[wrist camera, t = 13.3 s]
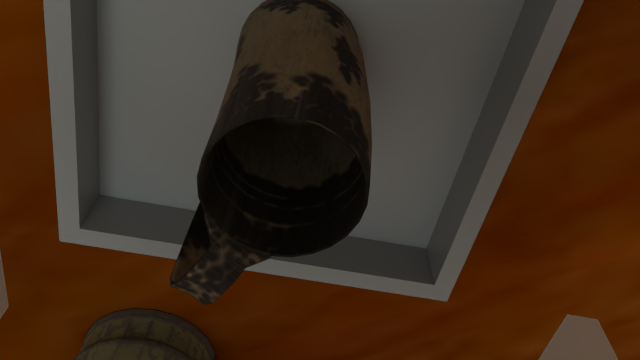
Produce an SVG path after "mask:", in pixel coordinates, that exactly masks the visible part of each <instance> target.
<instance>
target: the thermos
mask: <svg viewBox="0 0 640 360" xmlns="http://www.w3.org/2000/svg"><path fill="white" fill-rule="evenodd" d="M73 360H214V350H213V348H212V346H211V344H210V342H209V340H208V338H207V337H206V336H205V335H204V334H203V333H202V332H200V331H199V330H198V329H197V328H196V327H195V326H194V325H192V324H190V323H189V322H187V321H185V320H183V319H181V318H179V317H178V316H175V315H172V314H168V313H164V312H161V311H157V310H148V309H128V310H123V311H117V312H113V313H111V314H109V315H107V316H105V317H103V318H101V319H98V320H97V321H96V323H95V324H94V325H93V326H92V327H91V328H90V329H89V330H88V332H87V334H86V336H85V338H84V342H83V346H82V348H81V350H80V352H79V354H78V355H77V356H76V357H75V358H74V359H73Z"/></svg>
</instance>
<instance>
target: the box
mask: <svg viewBox="0 0 640 360" xmlns="http://www.w3.org/2000/svg"><path fill="white" fill-rule="evenodd" d="M264 1H266V0H43V3H44V18H45V33H46V48H47V63H48V77H49V92H50V107H51V122H52V137H53V152H54V166H55V181H56V196H57V211H58V226H59V241H62V242H68V243H75V244H81V245H88V246H94V247H101V248H107V249H113V250H120V251H126V252H133V253H139V254H145V255H152V256H158V257H165V258H171V259H177V257H178V255H179V252H180V250H181V247H182V244H183V242H184V239H185V237H186V234H187V232H188V229H189V227H190V224H191V222H192V219H193V217H194V214H195V212H196V210H197V207H198V205H199V203H200V200H199V198H198V191H197V174H198V170H199V166H200V162H201V158H202V156H203V153H204V150H205V148H206V145H207V143H208V140H209V137H210V135H211V132H212V129H213V127H214V124H215V122H216V119H217V116H218V113H219V110H220V107H221V104H222V101H223V98H224V95H225V92H226V89H227V86H228V83H229V80H230V77H231V73H232V70H233V66H234V62H235V57H236V50H237V45H238V41H239V37H240V33H241V29H242V27H243V25H244V23H245V22H246V20H247V18H248V16H249V15H250V13H251V12H253V11H254V10H255V9H256V8H257V7H258V6H259V5H260V4H261V3H262V2H264ZM329 1H330V2H332V3H333V4H335V5H336V6H338V7H339V8H340V9H341V10H342V11H343V12H344V13H345V15H346V16H347V17H348V18H349V19H350V20H351V23H352V25H353V27H354V29H355V31H356V33H357V36H358V42H359V45H360V47H361V50H362V53H363V58H364V64H365V70H366V77H367V83H368V89H369V95H370V105H371V129H372V158H371V176H370V190H369V197H368V205H367V207H366V210H365V212H364V214H363V216H362V218H361V220H360V222H359V223H358V225H357V226H356V227H355V228H354V229H353V230H352V231H351V232H350V234H349V235H348V236H347V237H345V238H344V239H342V240H341V241H339V242H338V243H336V244H335V245H333V246H332V247H330V248H327V249H325V250H322V251H319V252H317V253H314V254H311V255H304V256H297V257H276V256H271V258H270V259H268V260H265V261H263V262H260V263H258V264H255V265H252V266H250V267H247V268H245V269H244V270H248V271H254V272H261V273H267V274H274V275H280V276H286V277H293V278H299V279H306V280H312V281H319V282H325V283H331V284H338V285H344V286H351V287H357V288H363V289H370V290H376V291H383V292H389V293H395V294H402V295H408V296H415V297H421V298H428V299H434V300H440V301H447V300H448V298H449V296H450V294H451V291H452V289H453V287H454V285H455V283H456V280H457V278H458V276H459V274H460V272H461V269H462V267H463V265H464V263H465V261H466V259H467V256H468V254H469V252H470V250H471V248H472V245H473V243H474V241H475V239H476V237H477V234H478V232H479V230H480V228H481V226H482V223H483V221H484V219H485V217H486V215H487V212H488V210H489V208H490V206H491V204H492V201H493V199H494V197H495V195H496V193H497V190H498V188H499V186H500V184H501V182H502V179H503V177H504V175H505V173H506V171H507V168H508V166H509V164H510V162H511V160H512V157H513V155H514V153H515V151H516V149H517V146H518V144H519V142H520V140H521V138H522V135H523V133H524V131H525V129H526V127H527V124H528V122H529V120H530V118H531V116H532V114H533V111H534V109H535V107H536V105H537V103H538V100H539V98H540V96H541V94H542V92H543V89H544V87H545V85H546V83H547V81H548V78H549V76H550V74H551V72H552V70H553V67H554V65H555V63H556V61H557V59H558V56H559V54H560V52H561V50H562V48H563V45H564V43H565V41H566V39H567V37H568V34H569V32H570V30H571V28H572V26H573V23H574V21H575V19H576V17H577V15H578V12H579V10H580V8H581V6H582V4H583V1H584V0H329Z"/></svg>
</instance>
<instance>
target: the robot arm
mask: <svg viewBox="0 0 640 360" xmlns="http://www.w3.org/2000/svg"><path fill="white" fill-rule="evenodd" d="M7 308H8V299H7V293H6V286H5V279H4V272H3V266H2V259H1V252H0V318H1V317H2V315H3V314H4V312H5V311H6V309H7ZM538 360H618V358H617V356H616V354H615V352H614V350H613V348H612V347H611V345H610V343H609V341H608V339H607V337H606V335H605V333H604V331H603V329H602V327H601V325H600V323H599V321H598V319H592V318H586V317H580V316H574V315H568V314H567V316H566V317H565V319H564V320H563V322H562V323H561V325H560V327H559V328H558V330H557V331H556V333H555V334H554V336H553V337H552V339H551V341H550V342H549V344H548V345H547V347H546V348H545V350H544V352H543V353H542V355H541V356H540V358H539V359H538Z"/></svg>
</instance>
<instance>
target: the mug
mask: <svg viewBox="0 0 640 360" xmlns="http://www.w3.org/2000/svg"><path fill="white" fill-rule="evenodd" d="M371 158H372V129H371V105H370V95H369V89H368V83H367V77H366V70H365V64H364V58H363V53H362V50H361V47H360V45H359V42H358V36H357V33H356V31H355V29H354V27H353V25H352V23H351V20H350V19H349V18H348V17H347V16H346V15H345V13H344V12H343V11H342V10H341V9H340V8H339V7H338V6H336V5H335V4H333V3H332V2H330V1H329V0H266V1H264V2H262V3H261V4H260V5H259V6H258V7H257V8H256V9H255V10H254V11H253V12H251V13H250V15H249V16H248V18H247V20H246V22H245V23H244V25H243V27H242V29H241V33H240V37H239V41H238V45H237V50H236V57H235V62H234V66H233V70H232V73H231V77H230V80H229V83H228V86H227V89H226V92H225V95H224V98H223V101H222V104H221V107H220V110H219V113H218V116H217V119H216V122H215V124H214V127H213V129H212V132H211V135H210V137H209V140H208V143H207V145H206V148H205V150H204V153H203V156H202V158H201V162H200V166H199V170H198V174H197V191H198V198H199V200H200V203H199V205H198V207H197V210H196V212H195V214H194V217H193V219H192V222H191V224H190V227H189V229H188V232H187V234H186V237H185V239H184V242H183V244H182V247H181V250H180V252H179V255H178V257H177V260H176V262H175V265H174V268H173V271H172V274H171V277H170V283H171V286H172V287H175V288H177V289H179V290H182V291H184V292H187V293H189V294H190V295H192V296H193V297H194V298H196V299H197V300H198V301H199V302H201V303H202V304H203V305H206V304H211V303H212V302H214V301H215V300H216V299H217V298H218V297H220V296H221V295H222V294H223V293H224V292H225V291H226V290H227V289H228V288H229V287H230V286H231V285H232V284H233V283H234V282H235V280H236V279H237V278H238V277H239V275H240V274H241V273H242V272H243V270H244V269H245V268H247V267H250V266H252V265H255V264H258V263H260V262H263V261H265V260H268V259H270V258H271V256H276V257H297V256H304V255H311V254H314V253H317V252H319V251H322V250H325V249H327V248H330V247H332V246H333V245H335V244H336V243H338V242H339V241H341V240H342V239H344V238H345V237H347V236H348V235H349V234H350V232H351V231H352V230H353V229H354V228H355V227H356V226H357V225H358V223H359V222H360V220H361V218H362V216H363V214H364V212H365V210H366V207H367V205H368V197H369V190H370V176H371Z"/></svg>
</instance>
